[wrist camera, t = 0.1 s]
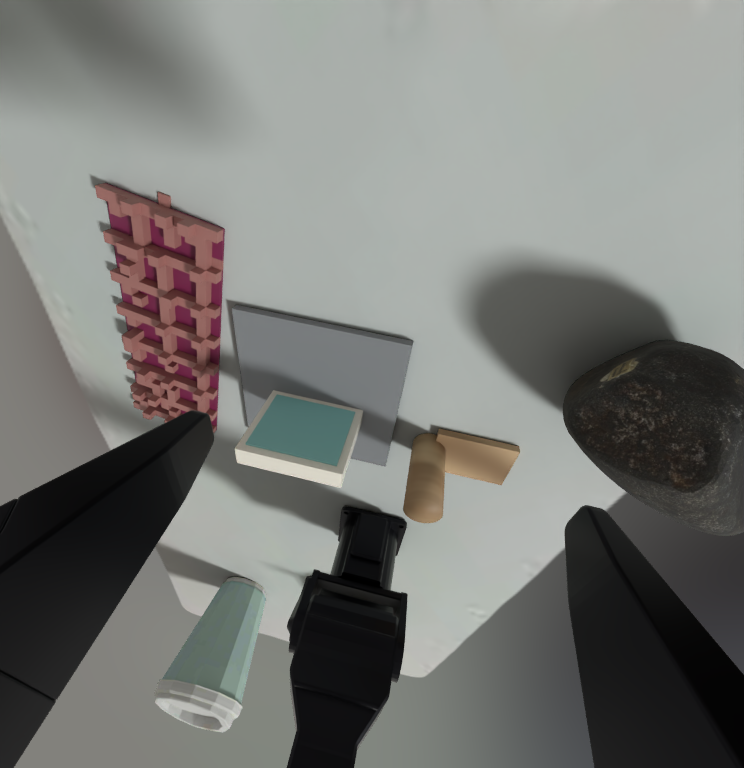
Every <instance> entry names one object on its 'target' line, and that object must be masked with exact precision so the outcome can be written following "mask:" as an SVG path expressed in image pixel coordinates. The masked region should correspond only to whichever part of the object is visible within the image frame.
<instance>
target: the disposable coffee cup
mask: <svg viewBox="0 0 744 768" xmlns="http://www.w3.org/2000/svg"><path fill="white" fill-rule="evenodd" d="M265 595H266V592H265V590H264V588H263V587H261V586H260V585H259V584H257V583H256V582H253V581H251V580H248V579H246V578H240V577H231V578H228V579H227V580H226V582H224V583H223V584H222V586H221V587H220V589H219V590H218V592H217V594H216V595H215V597H214V598H213V600H212V601H211V603H210V605H209V606H208V608H207V609H206V611H205V612H204V614H203V616H202V617H201V619H200V621H199V622H198V624H197V625H196V627H195V628H194V630H193V631H192V633H191V635H190V636H189V638H188V639H187V641H186V642H185V644H184V645H183V647H182V649H181V650H180V652H179V653H178V655H177V656H176V658H175V660H174V661H173V663H172V664H171V666H170V667H169V669H168V671H167V672H166V674H165V675H164V677H163V679H160V680H159V682H158V686H157V688H156V690H155V693H154V694H155V696H157V697H156V699H155V703H156V704H157V705H158V706H159V707H160V708H161V709H162V710H163V711H165V712H167V713H168V714H170V715H171V716H173V717H175V718H176V719H178V720H181V721H183V722H185V723H187V724H190V725H192V726H194V727H198V728H202V729H206V730H211V731H218V732H225V731H226V730H228V729H229V728H230V727H231V724H232V721H233V720H234V719H236V718H237V717H238V716H239V714H240V711H241V709H242V708H243V707H242V706H241V701H242V697H243V693H244V689H245V685H246V680H247V676H248V672H249V668H250V664H251V659H252V655H253V651H254V647H255V643H256V638H257V634H258V630H259V626H260V622H261V617H262V613H263V609H264V605H265V601H266V598H265Z"/></svg>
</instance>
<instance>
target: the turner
mask: <svg viewBox="0 0 744 768" xmlns="http://www.w3.org/2000/svg"><path fill="white" fill-rule="evenodd" d="M519 453H520V449H519V446H515V445H511V444H507V443H502V442H498V441H493V440H489V439H484V438H480V437H475V436H471V435H466V434H462V433H457V432H453V431H448V430H444V429H440V428H439V430H438V433H437V435H435V434H431V433H424V434H420V435H418V436H417V437H415V439H414V440H413V445H412V452H411V459H410V466H409V472H408V479H407V486H406V493H405V500H404V507H403V511H404V513H405V514H406V516H408V517H409V518H410V519H412V520H414V521H417V522H421V523H433V522H436V521H438V520H440V519H441V518H442V516H443V500H444V479H445V472H447V473H451V474H456V475H460V476H464V477H468V478H473V479H477V480H481V481H486V482H490V483H494V484H498V485H502V483H503V481H504V480H505V478H506V476H507V474H508V473H509V471H510V469H511V467H512V466H513V464H514V462H515V460H516V459H517V457H518V455H519Z"/></svg>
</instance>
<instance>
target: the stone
mask: <svg viewBox="0 0 744 768" xmlns="http://www.w3.org/2000/svg"><path fill="white" fill-rule="evenodd" d="M563 417H564V422H565V425H566V427H567V430H568V432H569V434H570V435H571V436H572V438H573V439H574V440H575V442H576V443H577V444H578V446H579V447H580V448H581V450H582V451H583V452H584V453H585V454H586V455H587V456H588V458H589V459H590V460H591V461H592V462H593V463H594V464H595V465H596V466H597V467H598V468H599V469H600V470H601V471H602V472H603V473H604V474H605V475H607V476H608V477H609V478H610V479H611V480H613V481H614V482H615V483H616V484H617V485H618V486H620V487H621V488H622V489H624V490H625V491H626V492H628V493H629V494H630V495H632V496H633V497H635V498H636V499H638V500H639V501H641V502H642V503H644V504H645V505H647V506H649V507H651V508H652V509H654V510H656V511H658V512H659V513H661V514H663V515H665V516H667V517H668V518H670V519H673V520H675V521H677V522H679V523H681V524H683V525H686V526H688V527H690V528H693V529H696V530H699V531H703V532H706V533H709V534H715V535H721V536H731V535H736V534H739V533H742V532H744V369H743V368H741V367H740V366H739V365H738V364H736V363H735V362H734V361H733V360H731V359H729V358H728V357H726V356H724V355H722V354H720V353H718V352H716V351H713V350H710V349H707V348H703V347H700V346H697V345H693V344H690V343H684V342H678V341H671V340H659V341H655V342H652V343H649V344H647V345H644V346H642V347H639V348H637V349H635V350H632V351H630V352H628V353H625V354H623V355H620V356H618V357H616V358H614V359H612V360H609V361H607V362H605V363H603V364H601V365H599V366H597V367H596V368H594V369H592V370H591V371H589V372H587V373H586V374H584V375H583V376H581V377H580V378H579V379H578V380H576V382H575V383H574V384H573V385H572V386H571V387H570V389H569V390H568V392H567V394H566V396H565V400H564V404H563Z"/></svg>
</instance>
